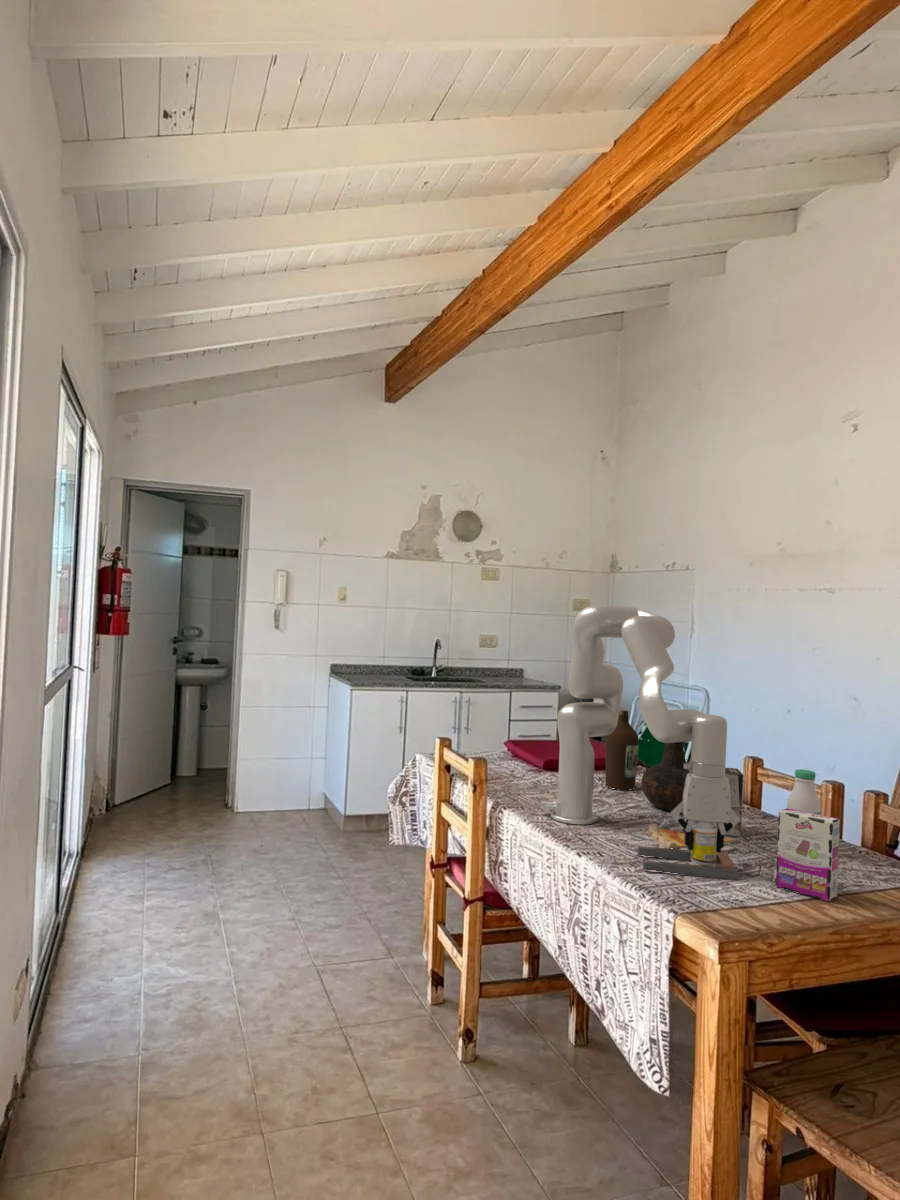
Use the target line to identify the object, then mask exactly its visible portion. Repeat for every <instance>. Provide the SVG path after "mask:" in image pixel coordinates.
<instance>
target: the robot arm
mask: <svg viewBox="0 0 900 1200" xmlns="http://www.w3.org/2000/svg"><path fill="white" fill-rule="evenodd" d="M572 629H573V646H572V647H573V648H572V653H571V654H572V655H571V660H570V668H569V674H568V681H567V682H568V685H567V687H568V692H569V694H570V695H571V696H572V697H573V698H576V699H582V700H584V699H585V700H589V699H593V701H589V702H588V701H585V702H582V701H580V702H571V703H568V704H565V705H563V707H561V708H560V709H559V711H558V713H557V716H556V723H557V730H558V738H559V740H558V741H559V755H558V757H559V758H558V779H557V784H558V785H557V797H556V798H555V800H552V801H548V800H540V808H542V809H544V810H547V811H548V810H552V811H551V813H550V816H551V818H552V819H553V820H555V821H558V822H560V823H564V824H571V825H591V824H595V823H597V822H598V820H599V819H598V818H599V817H598V816H599V815H597V814H596V813H595V812H593V806H594V805H593V803H594V783H595V782H594V781H595V780H594V779H595V749H594V747H593V745H592V743H591V741H590V738H597V737H606V735H609V734H611V733H612V732H613V731H614V730H615V728H616V726H617V722H618V717H619V711H620V710H621V703H622V698H623V689H624V681H623V677H622V674H621V671H620V670H619V668H617V667H616V666H614V665H613V664H609V663H604V658H605V646H604V642H603V640H602V638H612V639H615V638H616V639H622V640H623V642H624V644H625V646H626V650H627V651H628V653H629V655H630V658H631V660H632V663H633V664H634V666H635V668H636V671H637V673H638V675H639V677H640V686H639V690H638V707H639V711H640V714H641V716H642V718H643V720H644V723H645V725H646V727H647V729H648V730H649V732H650V734H651V736H653V739H654V738H655V740H656V741H658V742H660V743H663V744H665V743H675V742H683V743H688V742H691V744H690V759H689V761H688V762H686V763H684V769H687V770H689V771H690V773H687V776H686V780H685V785H684V791H683V798H682V802H681V803H680V804H679V805H678V806H677V807H676V808H675V809H674V810H673V811H672V810H671V811H670V816H672V818H673V819H674V820H676V822H677V823H679V825H680V826H681V827H682V828H683V830H684V832H685V845H687V847H686V848H687V850H692V847H693V832H692V827H693V824H695V823H696V821H698V822H710V823H716V824H717V828H718V829H717V852H718V853H721V850H722V849H724V845H725V843H724V838H725V836H726V835H725V834H726V832H728V831H729V830H730V829H731V828H732V827H733V826H734V825H736V824H737V823H738V822H740V818H739V817H738V816H737V815H736V813H735V812H734V811H733V810H732V808H731V799H730V785H729V779H728V778H727V777H725V768H726V760H727V759H726V757H727V740H728V739H727V737H728V736H727V735H728V721H727V720H726V718H725V717H723V716H721V715H716V714H715V715H714V714H707V713H704V712H702V711H699V710H695V709H688V708H686V709H684V708H683V709H668V707H667V704H666V703H665V700H664V697H663V695H662V691H661V690H662V689H661V686H662V682H663V681H665V680H666V679H667V678H669V677H670V676H671V675H672V674H673V673H674V670H675V664H674V662H673V661H672V658H671V656H670V654H669V653H668V650H667V649H668V648H670V647H671V646H672V645H673V643H674V642H675V638H676V631H675V629H674V626H673V625H672V622H671V621H670V620H668V619H667V618H666V617H664V616H661V615H659V614H655V613H653V612H649V611H647V610H645V609H641V608H637V607H634V606H627V605H626V606H623V605H622V606H621V605H608V604H602V605H601V604H599V605H591V606H587V607H584V608H582V609H581V610H580V611H579V613H577V615H576V617H575V619H574V623H573V628H572ZM680 813H682V814H683V816H684V818H685V820H684V818H683V817H682V816H680ZM730 817H731V819H730ZM723 823H725V824H723Z"/></svg>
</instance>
